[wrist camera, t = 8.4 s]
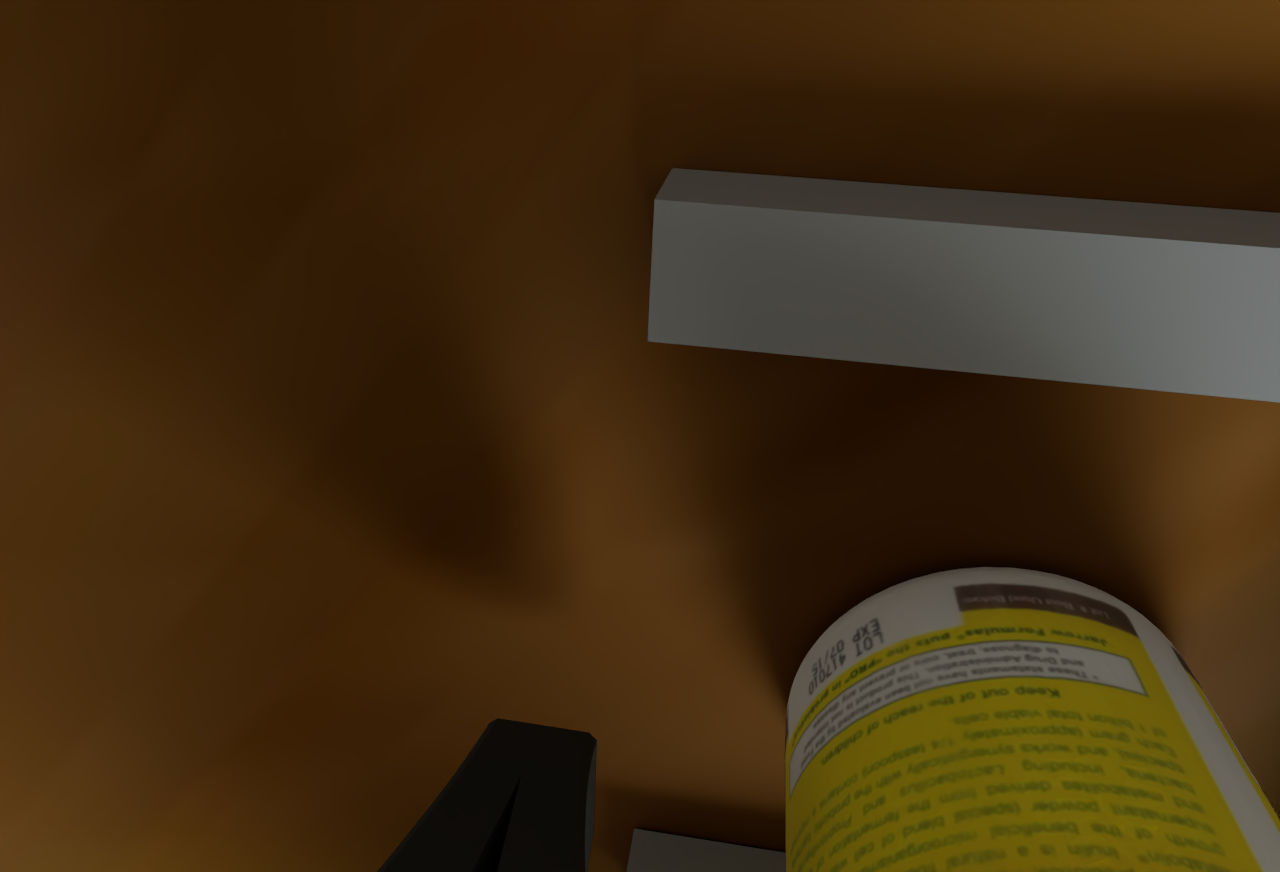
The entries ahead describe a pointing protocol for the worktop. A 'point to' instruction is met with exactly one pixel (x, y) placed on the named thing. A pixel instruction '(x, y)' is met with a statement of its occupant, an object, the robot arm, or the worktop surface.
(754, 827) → the worktop surface
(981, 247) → the bay
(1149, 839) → the supplement bottle
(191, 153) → the worktop surface
